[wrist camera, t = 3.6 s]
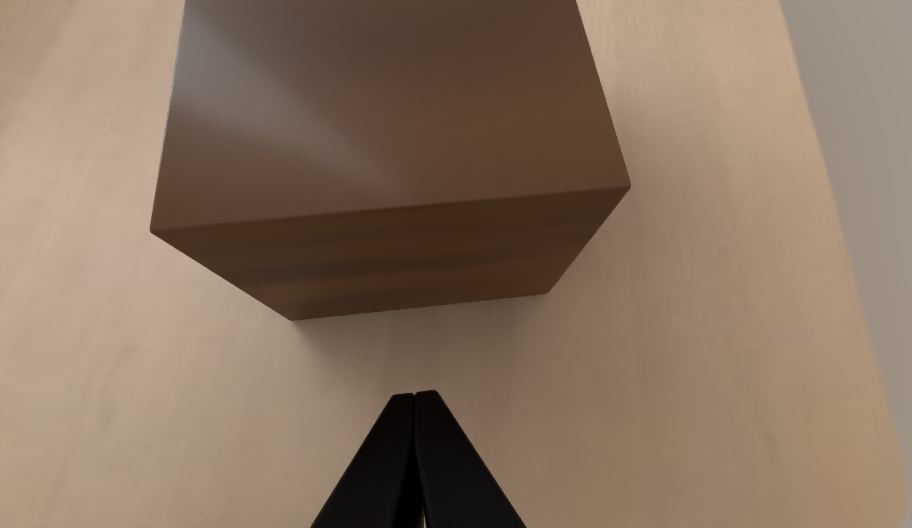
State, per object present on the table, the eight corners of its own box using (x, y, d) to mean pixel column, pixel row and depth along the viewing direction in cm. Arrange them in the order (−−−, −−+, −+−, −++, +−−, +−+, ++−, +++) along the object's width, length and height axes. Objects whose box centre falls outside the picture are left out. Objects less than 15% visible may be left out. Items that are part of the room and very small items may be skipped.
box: (548, 293, 16) (632, 187, 9) (289, 321, 16) (147, 232, 8) (505, 75, 20) (538, -127, 13) (295, 92, 20) (200, -111, 12)
